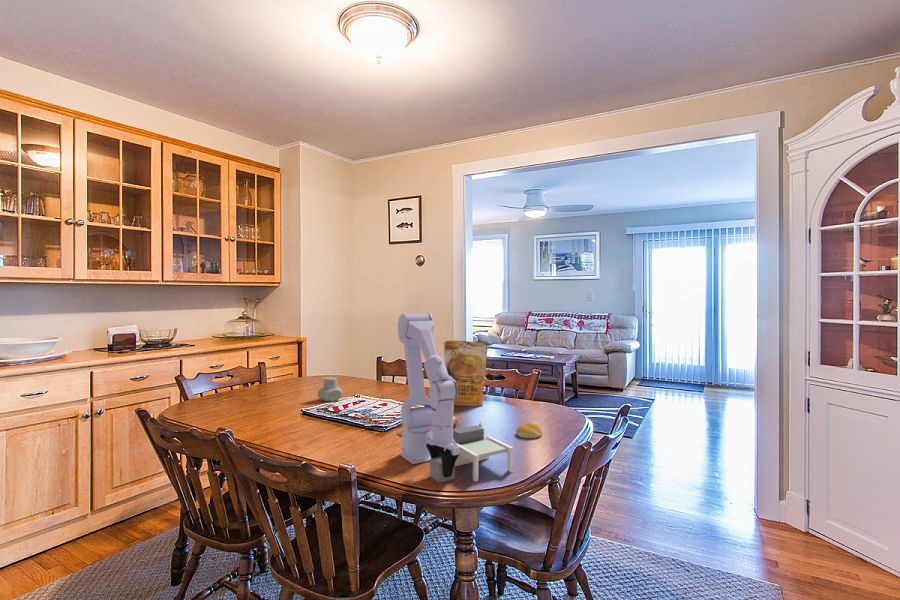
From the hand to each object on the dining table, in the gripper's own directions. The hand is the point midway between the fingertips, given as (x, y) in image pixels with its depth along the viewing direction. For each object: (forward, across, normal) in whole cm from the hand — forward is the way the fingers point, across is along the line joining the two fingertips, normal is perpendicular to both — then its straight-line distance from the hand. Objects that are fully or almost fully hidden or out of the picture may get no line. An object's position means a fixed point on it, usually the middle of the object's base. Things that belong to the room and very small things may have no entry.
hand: (442, 472), depth 128 cm
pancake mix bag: (+2, -62, +48) cm, 78 cm away
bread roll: (+2, -16, +45) cm, 48 cm away
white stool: (+1, -1, +13) cm, 13 cm away
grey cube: (+1, 0, 0) cm, 1 cm away
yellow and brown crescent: (+2, -38, +24) cm, 45 cm away
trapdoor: (-4, -2, +13) cm, 14 cm away
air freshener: (+2, -98, -1) cm, 98 cm away
